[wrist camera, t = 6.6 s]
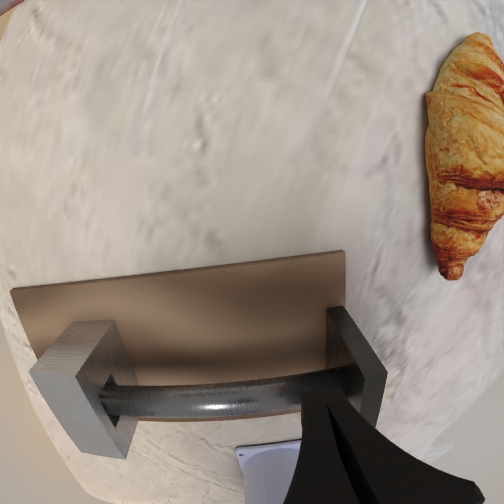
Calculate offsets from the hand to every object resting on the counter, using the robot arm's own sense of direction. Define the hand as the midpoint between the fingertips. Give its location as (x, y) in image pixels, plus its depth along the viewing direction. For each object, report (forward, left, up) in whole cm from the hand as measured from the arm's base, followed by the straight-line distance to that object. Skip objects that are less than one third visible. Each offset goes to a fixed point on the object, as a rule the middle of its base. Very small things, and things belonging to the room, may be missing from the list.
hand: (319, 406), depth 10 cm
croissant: (+10, -16, -11) cm, 22 cm away
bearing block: (-4, +14, -11) cm, 18 cm away
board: (-4, +9, -11) cm, 15 cm away
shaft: (-4, +5, -9) cm, 11 cm away
